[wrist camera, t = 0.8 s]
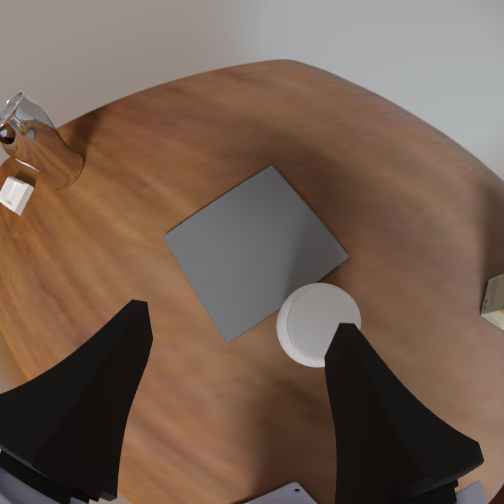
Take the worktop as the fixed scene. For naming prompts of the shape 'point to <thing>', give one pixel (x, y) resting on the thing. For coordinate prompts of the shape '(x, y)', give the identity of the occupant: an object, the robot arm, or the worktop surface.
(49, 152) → the beer glass
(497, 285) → the skincare box
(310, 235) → the mat
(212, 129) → the worktop surface
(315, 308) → the supplement bottle
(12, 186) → the soap bar
